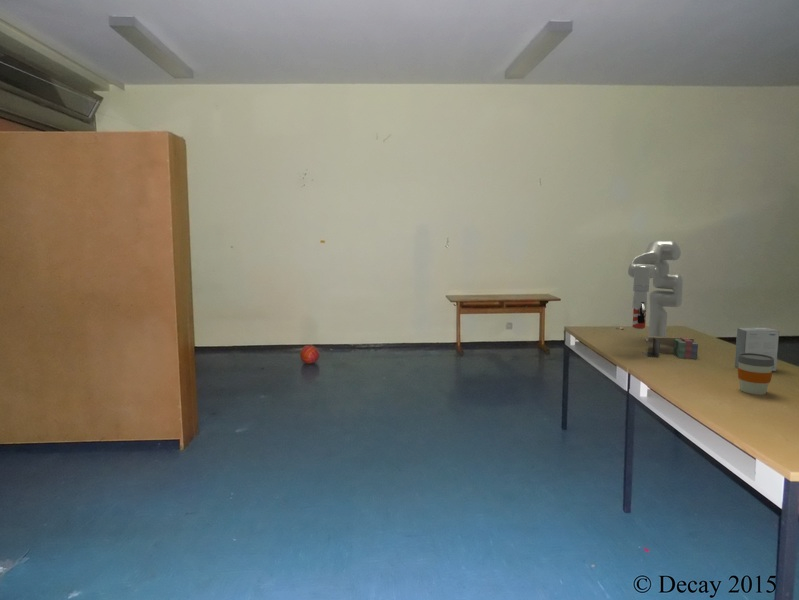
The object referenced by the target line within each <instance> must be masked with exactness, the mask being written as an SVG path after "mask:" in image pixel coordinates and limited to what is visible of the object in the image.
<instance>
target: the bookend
mask: <svg viewBox="0 0 799 600" xmlns="http://www.w3.org/2000/svg"><path fill="white" fill-rule="evenodd" d="M659 351H660V341H659V340H658V339H656V338H655V337H654V338H653V353H650V352H647V351H646V352H645V351H643V352H642V354H643V355H644V356H646V357H647V358H657V357H659V358H660V354H659Z"/></svg>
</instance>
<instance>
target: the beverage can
mask: <svg viewBox="0 0 799 600" xmlns="http://www.w3.org/2000/svg"><path fill="white" fill-rule="evenodd" d="M640 310H642V309H640ZM640 312H641V311H640ZM638 315H639V312H638V310H636V309H635V308H633V312H632V328H634V329H636V330H643V329H645V328H646V323H647V321H646V319H647V318H646V317H647V309H646V310H645V319H644V323H638Z"/></svg>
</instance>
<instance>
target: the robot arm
mask: <svg viewBox="0 0 799 600" xmlns="http://www.w3.org/2000/svg"><path fill="white" fill-rule="evenodd" d="M681 253H682V251H681V248H680V246H679V244H678V243H677V242H676V241H673V240H652V241H651V242H649V244H648V246H647V248H646V250H645V252H644V253H641V254H639V255H637V256H636V257H633V259H632V260H631V261H630V264H629V265H628V270H627V273H628V276H629V277H631V278H633V287H632V289H633V290H632V291H633V295H632V296H633V297H632V299H633V300H632V308H633V309H634V308H635V309H636V310H638V312H639V315H638V323H644V319H645V310H646V311H647V305H648V299H649V326H648V337H667V325H668V323H667V322H668V312H667V311H666V309H665V308H679V307H681V305H682V301H683V282H684V281H683V276H682V275H681V274H679V273H676V272H675V273H672V272H670V264H669V262H668V261H677V260H679V259H680V258H681ZM651 279H652V286H653V288H654V289H658V290H653V291H651V292H650V280H651ZM659 289H661V290H659ZM649 292H650V293H649ZM648 293H649V298H648ZM640 309H642V310H640ZM640 311H641V312H640ZM648 337H646V338H645V341H646V342H647V343H648Z"/></svg>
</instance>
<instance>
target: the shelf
mask: <svg viewBox="0 0 799 600" xmlns="http://www.w3.org/2000/svg"><path fill="white" fill-rule="evenodd" d="M647 338H648V342H647V343H646V344H647V345H646V346H647V347H646V352H650V353H653V338H654V337H649V336H647ZM655 338H656V339H658V340H659V341H660V351H659V353H665V354H664V355H666V354H667V355H668V354H669V355H674V356H675V357H677V358H678V359H687V358H692V359H691V360H697V359H698V350H699V348H698V347H699V344H698V343H697V342H695V338H693V337H691V338H690V337H670V336H669V337H667V336H666V337H655Z"/></svg>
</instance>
